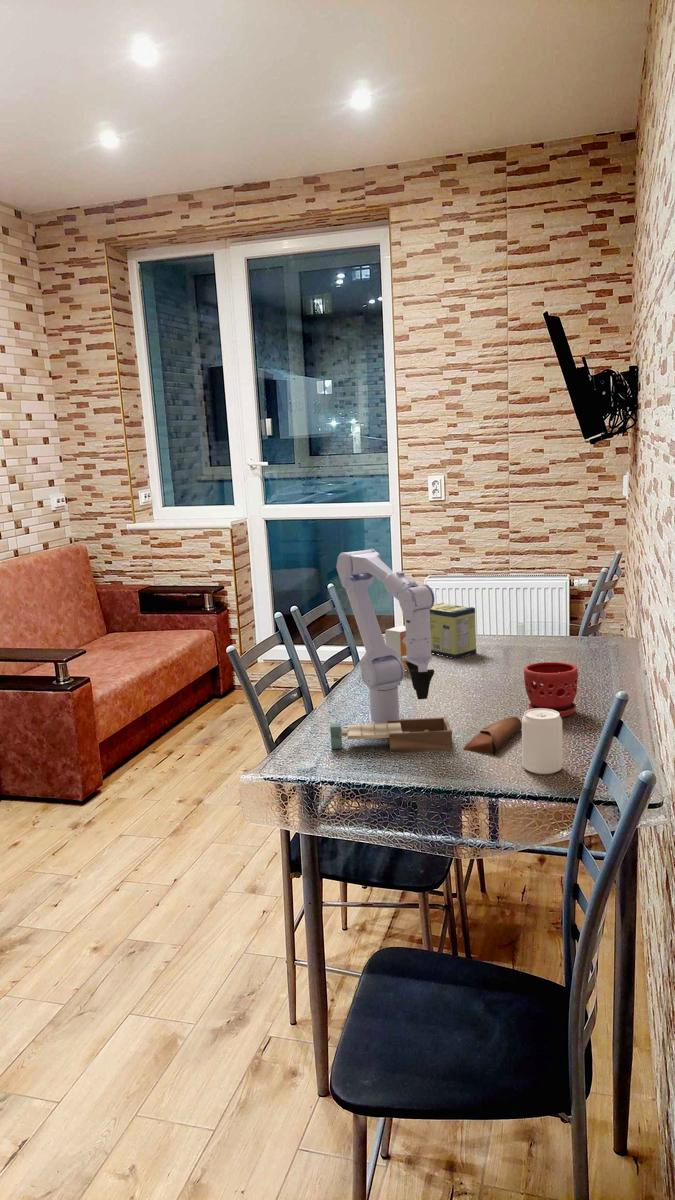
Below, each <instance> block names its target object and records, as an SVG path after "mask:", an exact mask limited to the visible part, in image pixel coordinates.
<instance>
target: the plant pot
mask: <svg viewBox="0 0 675 1200" xmlns="http://www.w3.org/2000/svg"><path fill="white" fill-rule="evenodd" d="M578 670H579V669H578V667H577V666H576V665H575V664H572V663H567V662H562V661H561V662H559V661H543V662H542V661H541V662H535V663H531V664H528V665H525V667H524V668H523V679H524V686H525V687H524V689H525V692H526V695H527V698H528V700H529V701H530V703H529V704H528V710H530V709H535V708H546V709H552V710H555V711H557V712H559V713H560V717H561V718H564V717H568V716H570V715H572V714H573V713H574V712H575V711H576V709H577V705H576V703H574V700H575V698H576V696H577V693H578V681H579V680H578V679H579V671H578Z"/></svg>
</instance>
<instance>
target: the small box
mask: <svg viewBox="0 0 675 1200" xmlns="http://www.w3.org/2000/svg"><path fill="white" fill-rule="evenodd" d="M384 631H385V644H386V646H387V647H389V648H391V649H393V650H395V651H396V652H397V655H398V657H399V659H400V660H401V662H402V663H403V665H404V669H405V670H408V671H409V668H408V666H407V664H406V663H405V661H403V660H402V656H407V652H406V627H405V625H403V624H402V625H399V626H395V627H394V626H393V627H392V628H388V629H385V630H384Z"/></svg>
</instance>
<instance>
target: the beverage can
mask: <svg viewBox="0 0 675 1200" xmlns="http://www.w3.org/2000/svg"><path fill="white" fill-rule="evenodd" d="M521 723H522V729H521V755H522V759H521V761H522V762H521V763H522V768H524V770H525V771H528V772H530V773H533V774H538V775H550V774H554V773H556V772H557V773H558V772H559V771H561V770H562V768H563V718H562V717H560V713H559V712H557V711H555V710H552V709H546V708H535V709H530V710H529V709H527V710H525V711H524V713H523V716H522V717H521Z"/></svg>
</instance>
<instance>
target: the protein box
mask: <svg viewBox="0 0 675 1200" xmlns="http://www.w3.org/2000/svg"><path fill="white" fill-rule="evenodd" d="M476 626H477V625H476V608H475V607H472V606H464V605H457V604H450V603H444V602H440V603H437V604H434V605H433V607H432V608H431V609H430V636H431V653H434V654H439V655H443V656H448V657H452V658H451V659H453V658H457V659H459V658H458V657H460V658H463V657H462V656H464V657H467V656H470V655H469V654H471V655H474V654H477V631H476V629H477V628H476ZM473 653H474V654H473ZM434 654H433V655H434ZM439 655H438V656H439ZM466 655H467V656H466ZM443 656H442V657H443ZM448 657H447V658H448Z"/></svg>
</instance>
